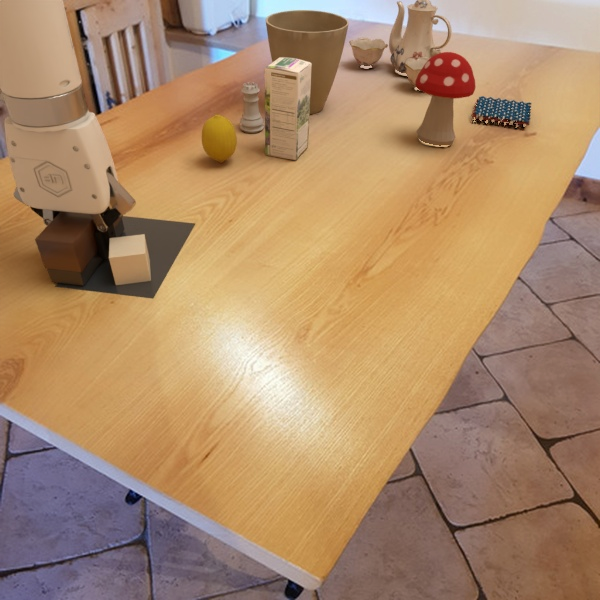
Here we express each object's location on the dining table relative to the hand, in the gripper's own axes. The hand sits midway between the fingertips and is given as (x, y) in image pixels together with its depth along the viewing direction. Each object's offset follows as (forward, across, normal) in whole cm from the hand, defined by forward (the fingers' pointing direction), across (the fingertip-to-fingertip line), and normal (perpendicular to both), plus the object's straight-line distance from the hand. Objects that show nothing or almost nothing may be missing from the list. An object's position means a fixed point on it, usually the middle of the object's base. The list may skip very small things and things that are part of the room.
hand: (88, 249), depth 67 cm
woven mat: (+2, +57, +58) cm, 81 cm away
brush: (+1, 0, 0) cm, 1 cm away
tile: (+2, +4, +2) cm, 5 cm away
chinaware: (+2, +38, +79) cm, 88 cm away
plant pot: (+2, +19, +55) cm, 59 cm away
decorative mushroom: (+2, +44, +44) cm, 62 cm away
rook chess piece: (+2, +11, +44) cm, 45 cm away
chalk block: (+1, +6, -2) cm, 7 cm away
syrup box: (+2, +19, +35) cm, 40 cm away
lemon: (+2, +9, +30) cm, 31 cm away
